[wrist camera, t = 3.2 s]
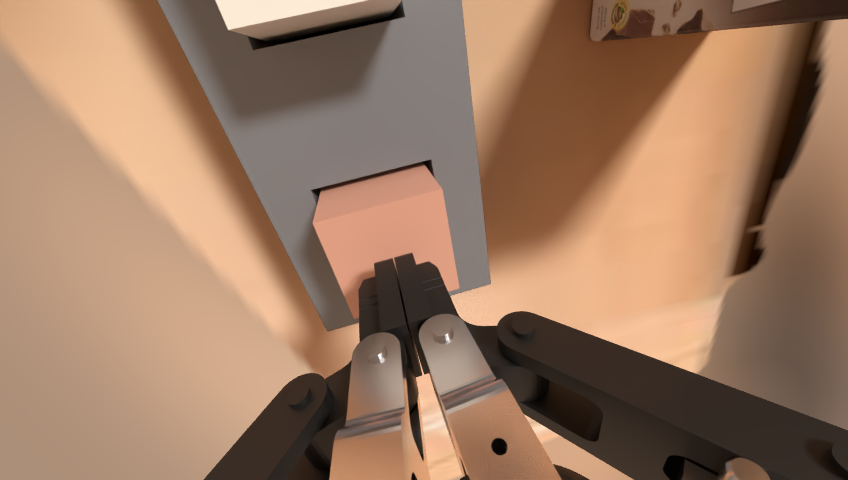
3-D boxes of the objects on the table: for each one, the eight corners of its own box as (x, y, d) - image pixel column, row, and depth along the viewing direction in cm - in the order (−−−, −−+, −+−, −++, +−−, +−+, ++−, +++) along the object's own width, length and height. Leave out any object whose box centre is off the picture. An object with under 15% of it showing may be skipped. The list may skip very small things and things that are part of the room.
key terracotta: (323, 180, 16) (312, 223, 11) (418, 156, 16) (442, 188, 12) (353, 259, 18) (354, 319, 14) (434, 237, 19) (459, 288, 14)
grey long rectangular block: (116, -203, 11) (-38, -380, 7) (393, -245, 12) (417, -428, 7) (332, 280, 22) (327, 331, 18) (464, 243, 23) (490, 283, 19)
